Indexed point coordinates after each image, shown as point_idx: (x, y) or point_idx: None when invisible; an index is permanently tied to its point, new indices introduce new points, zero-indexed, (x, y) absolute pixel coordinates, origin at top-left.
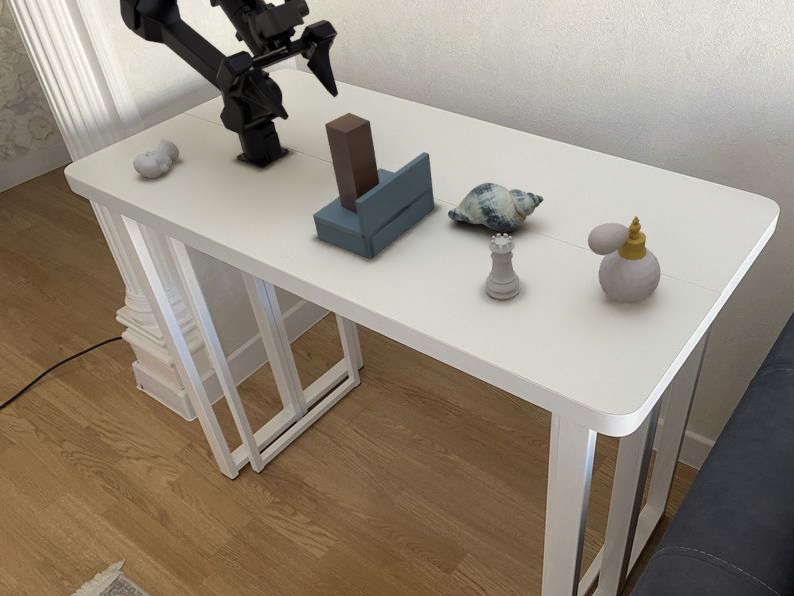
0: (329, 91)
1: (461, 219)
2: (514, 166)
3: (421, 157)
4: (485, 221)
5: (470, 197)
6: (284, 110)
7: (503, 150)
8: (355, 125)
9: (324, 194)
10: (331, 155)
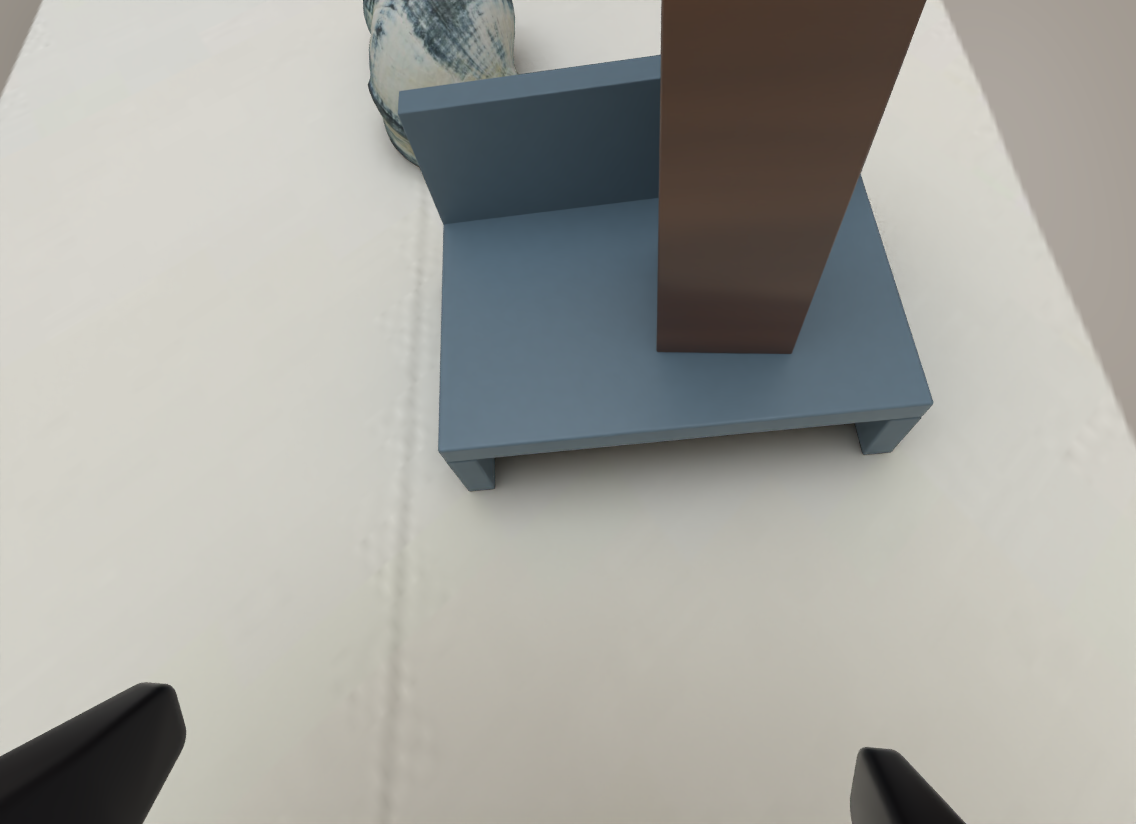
0: (130, 821)
1: None
2: (126, 241)
3: (444, 91)
4: (514, 24)
5: (473, 37)
6: (903, 799)
7: (28, 329)
8: None
9: (639, 710)
10: (864, 159)
